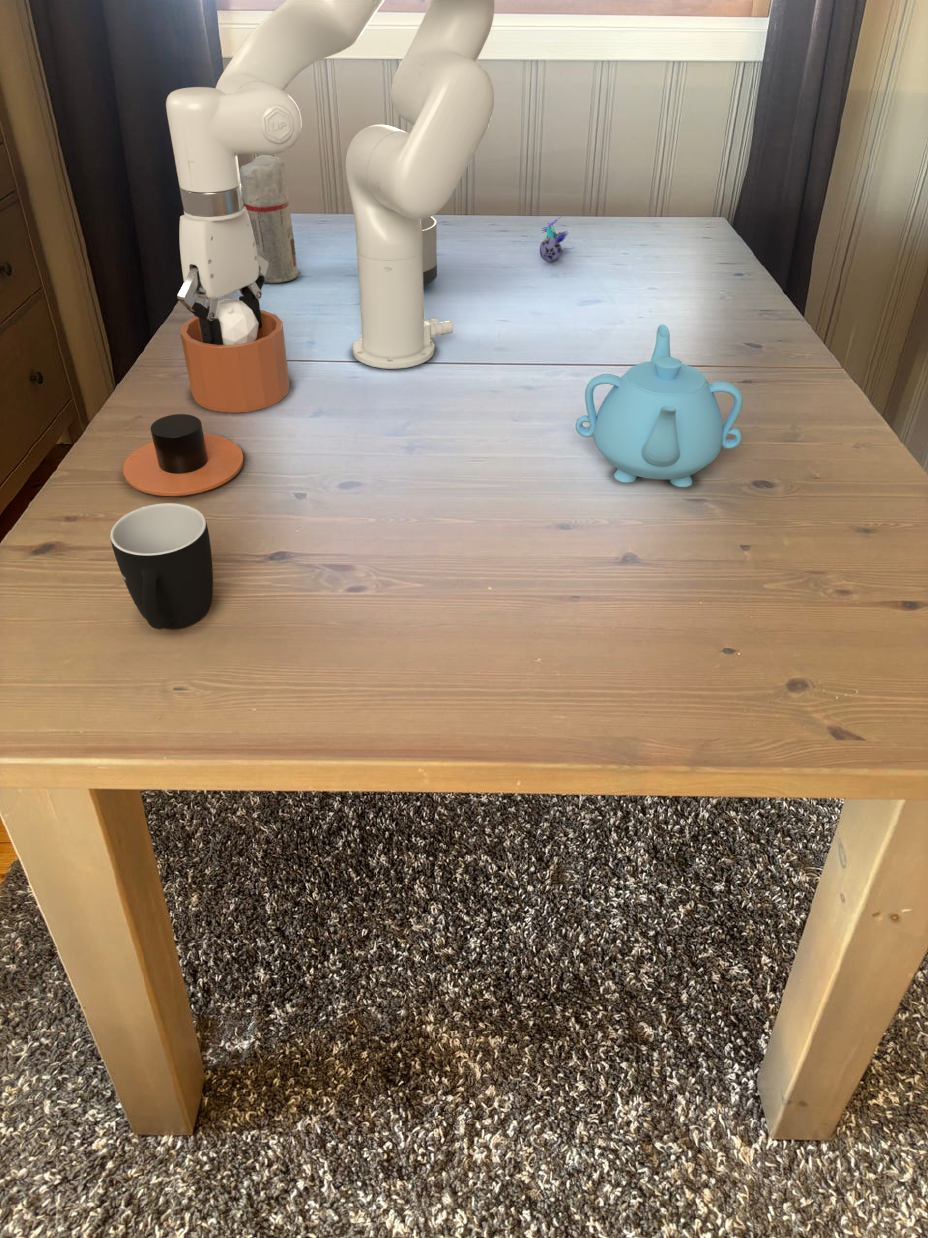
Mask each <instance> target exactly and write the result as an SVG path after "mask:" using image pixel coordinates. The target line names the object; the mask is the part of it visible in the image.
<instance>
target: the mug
mask: <svg viewBox="0 0 928 1238" xmlns="http://www.w3.org/2000/svg"><path fill="white" fill-rule="evenodd" d="M109 538H110V544H111V548H112V551H113V554H114V557H115V560H116V563H117V566H118V568H119V571H120V573H121V576H122V578H123V581H124V584H125V586H126V589H127V591H128V593H129V595H130V597H131V599H132V601H133V603H134V604H135V606H136V608H137V611H138V612H139V614H140V615H141V616H142V617H143V618H144V619H145V620H146V622H147V624H148V625H149V626H150V627H151V628H153V629H155V630H163V629H164V630H180V629H185V628H188V627H190V626H193V625H195V624H197V623H198V622H200V621H201V620H202V619H203V618H204V617H205V616H206V615H207V614H208V612H209V610H210V608H211V606H212V602H213V596H214V566H213V554H212V546H211V540H210V539H211V538H210V531H209V527H208V524H207V519H206V517H205V516H204V513H202V512H201V511H200V510H198V509H196V508H195V507H193V506H190V505H186V504H183V503H173V502H167V503H165V502H163V503H155V504H149V505H146V506H142V507H139V508H137V509H136V508H135V509H134V510H132V511H130V512H128V513H126V514H125V515H123V516H122V517H120V518H119V519H118V520H116V522H115V523H114V524H113V526H112V527H111V529H110V535H109Z"/></svg>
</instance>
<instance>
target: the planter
mask: <svg viewBox="0 0 928 1238" xmlns="http://www.w3.org/2000/svg"><path fill="white" fill-rule="evenodd" d="M420 220H421V226H422V238H423V287H424V286H426V285H429V284H431V283H432V282H434V281H435V280H436V279H437V277H438V238H437V236H438V233H437V232H438V231H437V228H438V227H437V226H438V225H437V223H438V222H437V220H436V218H434V217H433V216H431V217H429V218H426V219H420Z"/></svg>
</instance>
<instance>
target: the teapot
mask: <svg viewBox="0 0 928 1238" xmlns="http://www.w3.org/2000/svg"><path fill="white" fill-rule="evenodd" d="M670 333H671V332H670V330H669V328H668V326H667V325H665V324H659V325H658V327H657V328H656V338H655V344H654V349H653V353H652V356H651V358H650V360H649V361H644V362H640V363H637V364H635V365H633V366H631V367H630V368H629V369H628V370H626V372H625V373H624V374H622V375H621V377H619V376H618V375H616V374H612V373H602V374H598V375H596V376H594V377H593V378H591V379H590V380H589V382H588V383H587V384H586V387H585V391H584V400H585V401H584V402H585V407H586V414H584V415H581V416H579V417H578V418H577V419H576V422H575V430H576V432H577V434H578V435H580V436H581V437H583V438H592V437H593V441H594V444H595V446H596V447H597V449H598V451H599V452H600V453H601V454H602V456H603V458H605V459H606V461H608V463H610V465H612V466H613V467H615V468H616V471H615V473H614V474H613V478H614V479H615V480H616V481H619V482H620V483H633V482H635V481H636V480H637V478H638V477H640V478H644V479H650V480H651V479H652V480H668V481H669V483H670V484H671V485H673V486H675V487H679V488H687V487H690V486H691V485H692V484H693V480H692V477H691V476H692V475H695V474H696V473H698V472H700V471H701V470H703V469H704V468H706V467H707V466H709V465H710V464H711V463H712V462H714V460H715V459H717V457H718V455H719V454H720V452H721V450H722V448H723V449H725V450H726V449H727V450H732V449H736V448H737V447H738V446H739V445H740V444H741V442H742V439H743V435H742V432H741V430H740V429H738V428H737V427H733V426H734V425H735V423H736V421H737V419H738V418H739V415H740V413H741V410H742V407H743V401H744V399H743V394H742V391H741V390H740V389H739V388H738V387H737V386H736V385H735V384H733V383H731V382H729V381H715V382H712V383H709V382H708V379H707V378H706V376H705V375H704V374H703V373H702V372H701V371H699V370H698V369H696V368H695V367H693V366H690V365H687V364H685V363H683V361H682V360H680V359H678V358H676V357H674V356H673V357H672V356H671V342H670V341H671V340H670V338H671V335H670ZM600 385H610V386H612V388H611V389H610V390H609V391H608V393H607V394H606V396H605V397H604V399H603V401H602V402H601V404H600V406H599V408H598V412H597V411H596V407H595V400H594V391H595V388H596V387H597V386H600ZM714 393H727V394H729V395H730V396H732V397H733V405H732V407H731V409H730V412H729V414H728V416H727V417H726V419H725V421H724V423H723V417H722V412H721V409H720V406H719V403H718V400H717V397H716V396H715V394H714ZM584 423H589V426H588V427H586V426H584ZM728 435H733V436H734V437H733V438H730V439H729V438H728Z"/></svg>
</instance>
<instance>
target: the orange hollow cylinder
mask: <svg viewBox="0 0 928 1238" xmlns="http://www.w3.org/2000/svg"><path fill="white" fill-rule="evenodd" d="M260 313H261V320H262V328H260V329H258V332H257V338H256V340H255V341H252V342H247V343H242V344H236V345H214V344H207V343H203V340H202V334H201V328H200V322H199V318H198V317H195V316H192V318H190V319H188V320H186V321H185V322H184V323H183V324H182V326H181V329H180V332H179V335H180V340H181V344H182V350H183V356H184V358H185V359H184V360H185V361H184V362H185V366H186V371H187V376H188V382H189V387H190V392H191V395H192V398H193V399H194V401H195V402H196V404H198V405H199V406H200V407H202V408H204V409H207V410H211V411H214V412H218V413H219V412H220V413H230V414H233V413H234V414H235V413H238V414H239V413H249V412H254V411H258V410H259V411H260V410H264V409H266V408H269V407H271V406H274V405H276V404H278V403H280V402H281V401H282V400H284V399H285V398H286V396H287V395H288V394H289V392H290V375H289V366H288V357H287V351H286V350H287V349H286V340H285V333H284V332H285V331H284V324H283V320H281V319H280V317H278V316H277V315H276V314H274V313H271V312H269V311H267V310H263V309H260Z"/></svg>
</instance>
